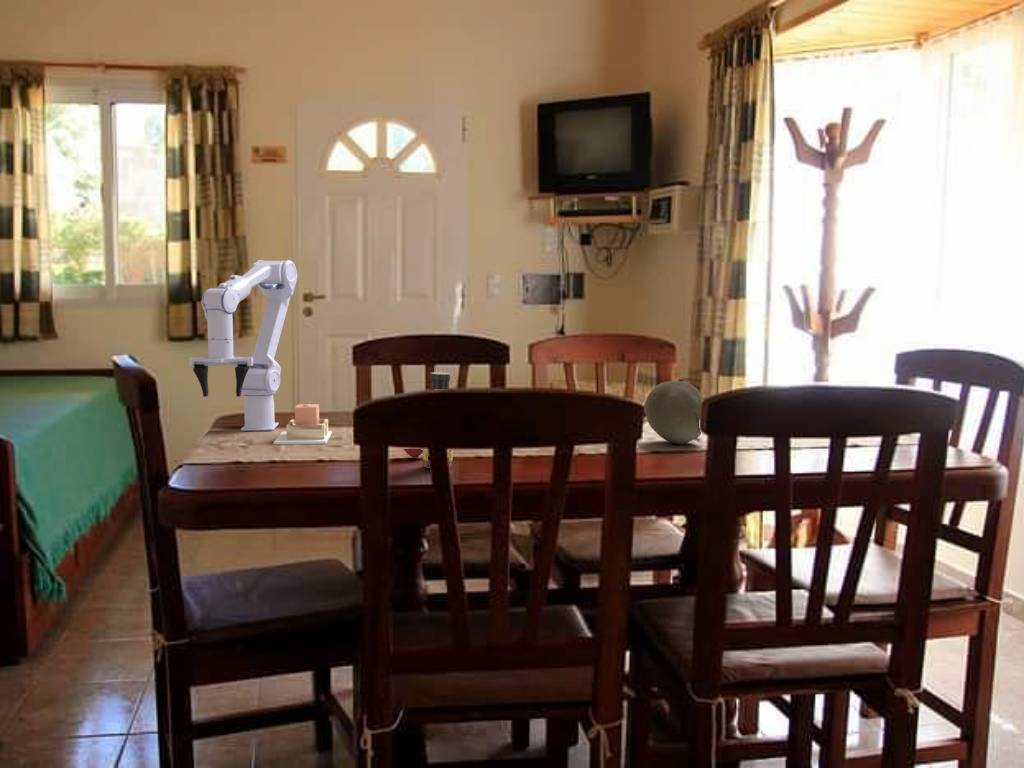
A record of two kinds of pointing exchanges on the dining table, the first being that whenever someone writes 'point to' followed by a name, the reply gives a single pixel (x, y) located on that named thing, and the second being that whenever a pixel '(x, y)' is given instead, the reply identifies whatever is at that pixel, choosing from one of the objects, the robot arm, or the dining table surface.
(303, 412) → the terracotta block
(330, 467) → the dining table surface
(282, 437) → the white board
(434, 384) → the sauce bottle
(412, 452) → the onion
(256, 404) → the robot arm
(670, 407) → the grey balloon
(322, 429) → the birch tray
